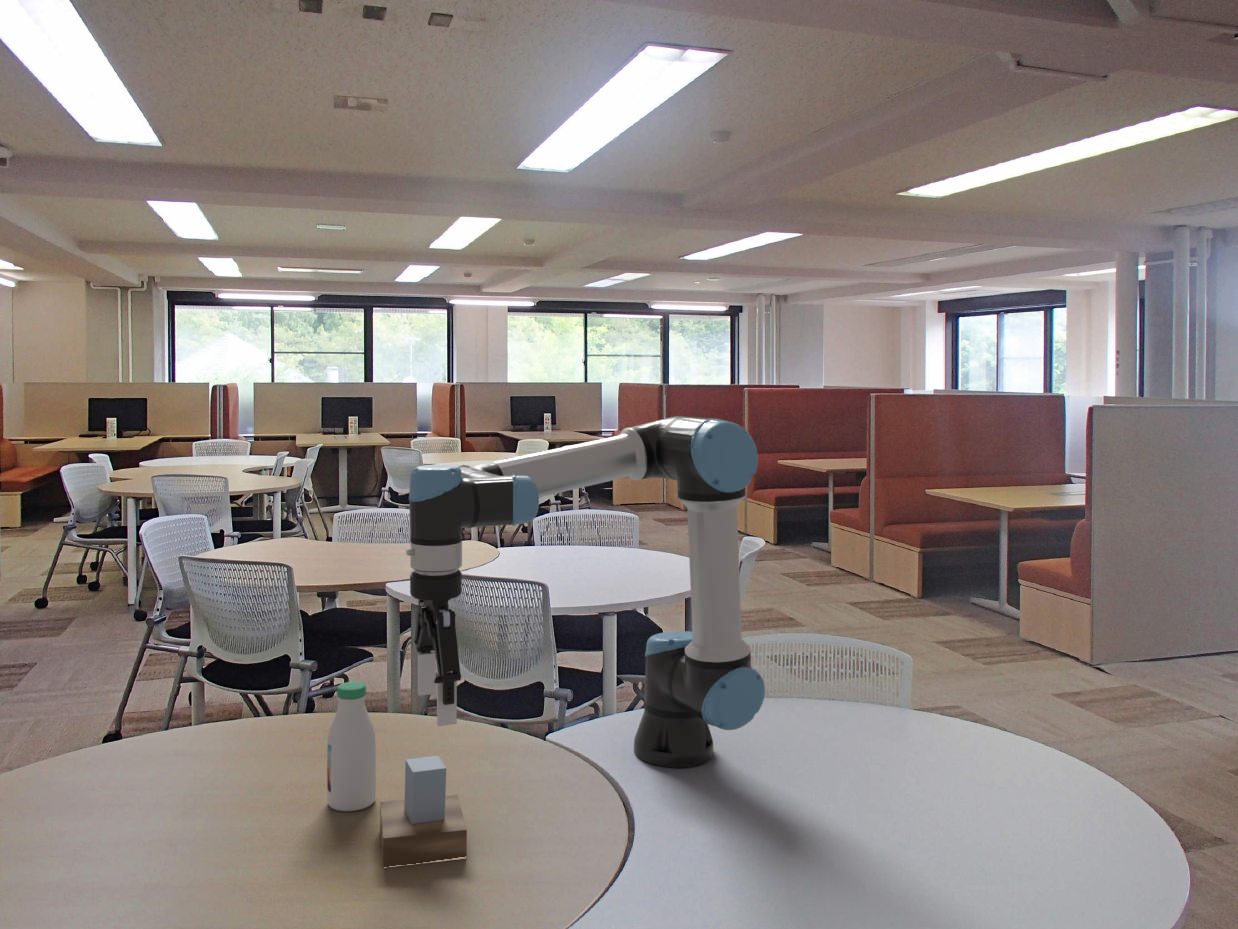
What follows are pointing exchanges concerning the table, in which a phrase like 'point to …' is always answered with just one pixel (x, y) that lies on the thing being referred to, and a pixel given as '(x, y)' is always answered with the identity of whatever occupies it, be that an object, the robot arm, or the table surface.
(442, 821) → the walnut box
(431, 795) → the block
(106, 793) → the table surface
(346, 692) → the milk bottle
